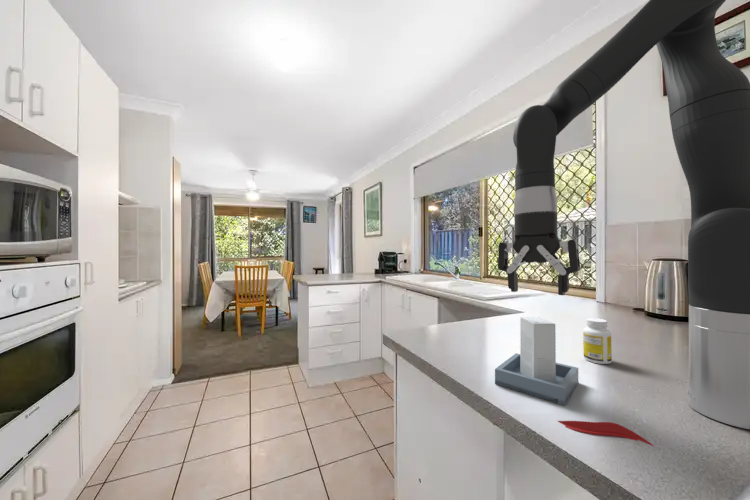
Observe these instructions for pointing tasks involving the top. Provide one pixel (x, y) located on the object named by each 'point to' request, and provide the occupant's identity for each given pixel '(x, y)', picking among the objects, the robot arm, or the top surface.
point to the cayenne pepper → (603, 429)
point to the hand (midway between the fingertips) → (536, 293)
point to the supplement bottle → (597, 341)
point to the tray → (538, 381)
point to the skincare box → (538, 348)
